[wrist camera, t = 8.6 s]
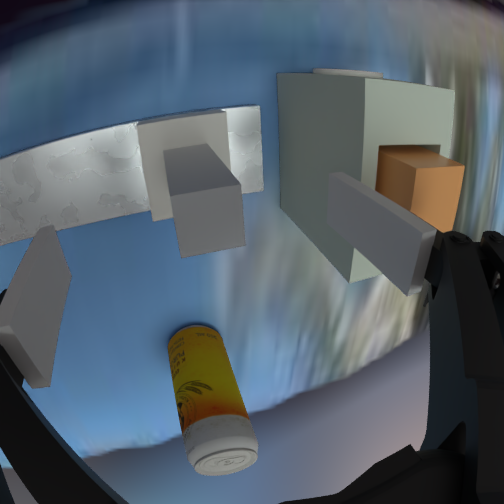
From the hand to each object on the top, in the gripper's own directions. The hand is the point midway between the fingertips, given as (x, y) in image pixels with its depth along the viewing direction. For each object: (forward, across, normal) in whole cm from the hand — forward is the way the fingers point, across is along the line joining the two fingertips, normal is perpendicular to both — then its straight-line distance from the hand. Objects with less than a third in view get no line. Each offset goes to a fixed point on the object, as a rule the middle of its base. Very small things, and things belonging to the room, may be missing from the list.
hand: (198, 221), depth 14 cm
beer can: (+13, -1, -20) cm, 24 cm away
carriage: (+10, +1, 0) cm, 11 cm away
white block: (+12, +12, 0) cm, 17 cm away
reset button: (+2, +12, 0) cm, 12 cm away
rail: (+12, -6, 0) cm, 14 cm away
